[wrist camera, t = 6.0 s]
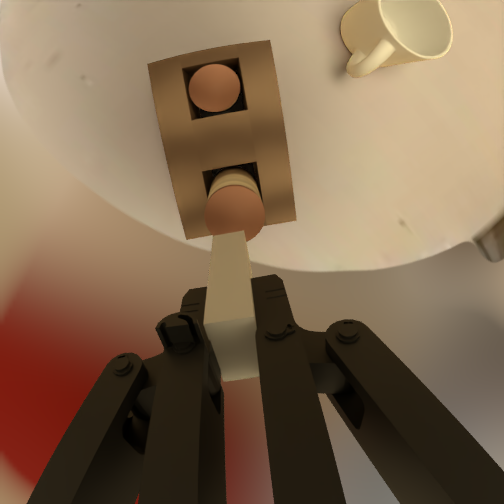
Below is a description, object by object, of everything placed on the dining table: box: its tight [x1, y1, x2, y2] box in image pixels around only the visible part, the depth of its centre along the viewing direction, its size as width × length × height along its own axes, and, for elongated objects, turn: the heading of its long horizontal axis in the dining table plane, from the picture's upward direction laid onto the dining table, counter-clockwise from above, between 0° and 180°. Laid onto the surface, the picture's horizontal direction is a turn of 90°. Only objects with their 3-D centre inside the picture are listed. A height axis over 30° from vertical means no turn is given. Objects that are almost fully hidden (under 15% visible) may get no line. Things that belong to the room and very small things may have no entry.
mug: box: [341, 0, 453, 78], centre depth 21 cm, size 12×8×10 cm
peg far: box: [189, 64, 240, 112], centre depth 24 cm, size 4×4×8 cm
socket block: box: [148, 40, 296, 240], centre depth 26 cm, size 16×10×8 cm, turn 9°
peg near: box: [204, 166, 265, 242], centre depth 23 cm, size 4×4×8 cm
